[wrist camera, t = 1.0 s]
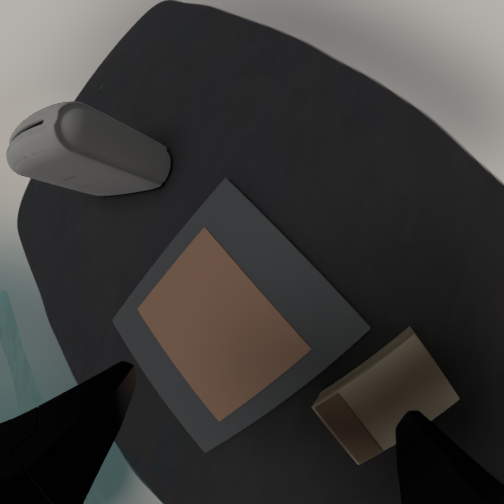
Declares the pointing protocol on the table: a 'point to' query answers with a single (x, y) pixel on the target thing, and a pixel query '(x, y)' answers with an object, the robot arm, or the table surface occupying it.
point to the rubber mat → (233, 319)
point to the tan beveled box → (384, 396)
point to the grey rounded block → (86, 152)
